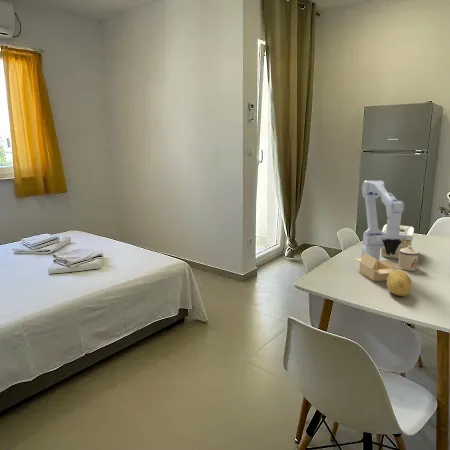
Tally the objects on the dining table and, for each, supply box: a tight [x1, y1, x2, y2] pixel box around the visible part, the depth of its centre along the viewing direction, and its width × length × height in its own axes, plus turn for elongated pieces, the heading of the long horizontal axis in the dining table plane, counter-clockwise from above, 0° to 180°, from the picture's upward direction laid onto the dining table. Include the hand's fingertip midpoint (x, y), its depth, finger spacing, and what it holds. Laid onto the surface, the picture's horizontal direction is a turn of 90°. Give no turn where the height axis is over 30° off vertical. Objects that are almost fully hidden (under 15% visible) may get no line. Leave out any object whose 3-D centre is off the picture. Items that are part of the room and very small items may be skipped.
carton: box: [354, 257, 403, 282], centre depth 175 cm, size 22×15×8 cm
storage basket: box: [380, 223, 415, 260], centre depth 211 cm, size 24×16×15 cm
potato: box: [386, 269, 413, 297], centre depth 153 cm, size 10×14×10 cm
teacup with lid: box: [397, 245, 420, 271], centre depth 187 cm, size 12×9×12 cm
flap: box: [359, 253, 377, 269], centre depth 173 cm, size 10×5×1 cm
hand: (390, 254), depth 174 cm, fingers closed
